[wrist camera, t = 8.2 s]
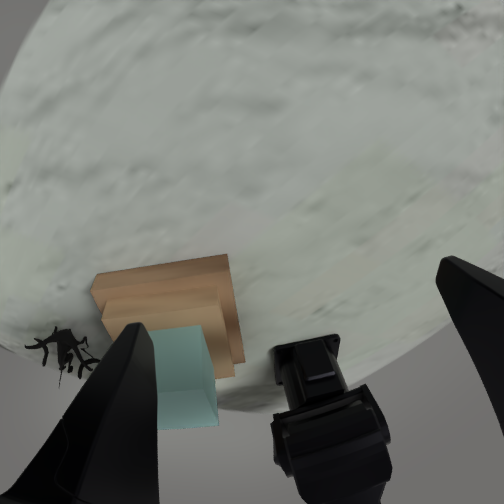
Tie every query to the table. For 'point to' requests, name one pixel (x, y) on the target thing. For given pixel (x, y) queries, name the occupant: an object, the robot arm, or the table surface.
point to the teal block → (184, 379)
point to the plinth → (175, 282)
